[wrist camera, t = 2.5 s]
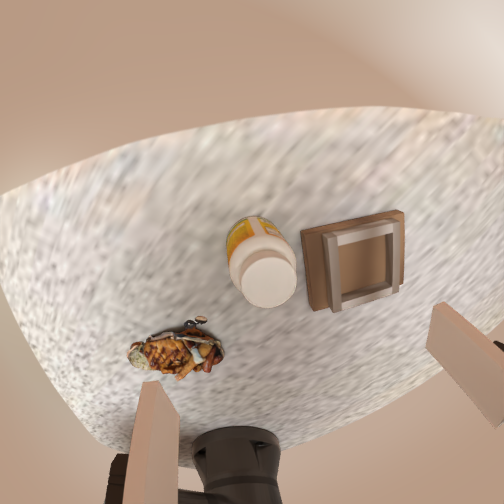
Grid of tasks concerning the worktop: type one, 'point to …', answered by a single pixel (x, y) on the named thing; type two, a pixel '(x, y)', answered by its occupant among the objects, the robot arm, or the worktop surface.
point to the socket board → (354, 260)
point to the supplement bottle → (261, 262)
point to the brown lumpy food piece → (177, 351)
